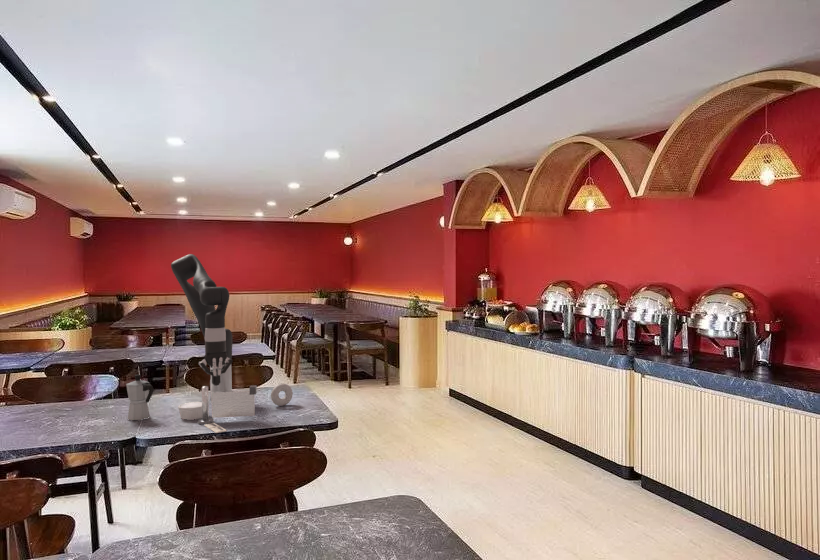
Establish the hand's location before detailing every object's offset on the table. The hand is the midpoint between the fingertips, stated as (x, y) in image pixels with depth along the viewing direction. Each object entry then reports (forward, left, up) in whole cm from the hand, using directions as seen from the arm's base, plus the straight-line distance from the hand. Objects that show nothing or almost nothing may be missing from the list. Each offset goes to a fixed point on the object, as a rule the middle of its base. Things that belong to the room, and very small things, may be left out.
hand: (216, 385), depth 221 cm
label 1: (-7, +2, -17) cm, 19 cm away
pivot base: (-14, +3, -17) cm, 22 cm away
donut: (-13, +39, -18) cm, 44 cm away
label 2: (0, 0, -17) cm, 17 cm away
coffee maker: (-41, -11, -18) cm, 46 cm away
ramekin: (-26, +4, -18) cm, 31 cm away
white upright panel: (-8, +10, -16) cm, 20 cm away
